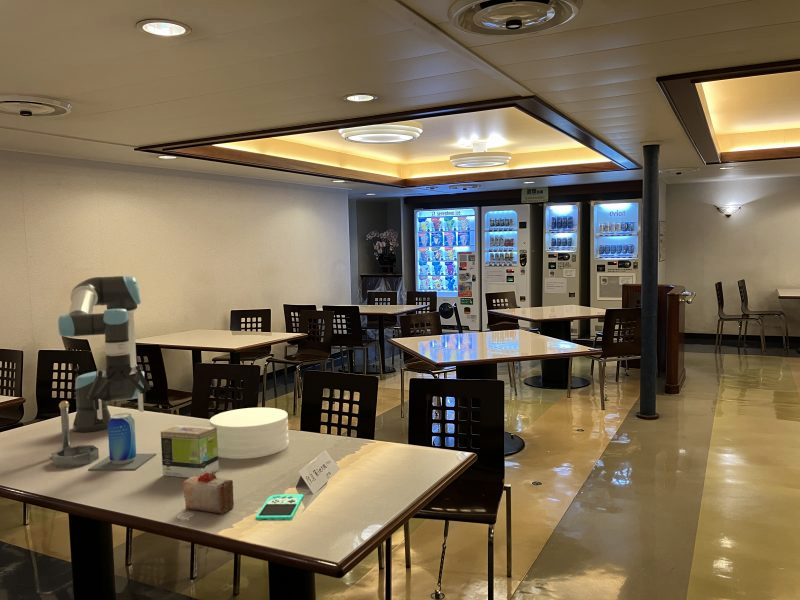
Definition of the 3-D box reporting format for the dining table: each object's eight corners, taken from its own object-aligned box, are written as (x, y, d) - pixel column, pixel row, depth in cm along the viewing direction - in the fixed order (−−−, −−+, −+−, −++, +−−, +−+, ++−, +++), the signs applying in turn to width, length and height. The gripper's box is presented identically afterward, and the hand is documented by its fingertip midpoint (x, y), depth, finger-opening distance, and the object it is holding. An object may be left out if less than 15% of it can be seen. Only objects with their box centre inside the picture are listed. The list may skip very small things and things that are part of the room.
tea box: (219, 470, 202) (217, 425, 202) (200, 480, 193) (198, 434, 192) (182, 465, 207) (180, 422, 206) (161, 476, 198) (159, 430, 197)
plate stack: (194, 454, 220) (193, 423, 219) (242, 433, 246) (241, 405, 245) (259, 462, 209) (258, 429, 209) (302, 439, 235) (301, 410, 235)
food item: (179, 510, 170) (177, 475, 169) (198, 500, 177) (196, 466, 176) (220, 516, 165) (219, 481, 164) (238, 505, 172) (236, 471, 172)
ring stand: (63, 451, 227) (60, 398, 226) (111, 450, 226) (108, 398, 225) (31, 467, 209) (28, 411, 208) (84, 467, 208) (80, 410, 207)
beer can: (141, 457, 216) (138, 412, 215) (128, 465, 208) (125, 418, 207) (118, 457, 217) (116, 412, 216) (104, 464, 208) (102, 418, 207)
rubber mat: (112, 455, 221) (112, 453, 221) (156, 454, 220) (156, 453, 220) (88, 470, 205) (88, 469, 205) (135, 470, 204) (135, 468, 204)
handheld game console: (304, 497, 178) (304, 493, 178) (292, 521, 162) (292, 516, 162) (270, 498, 178) (270, 493, 178) (255, 521, 162) (254, 516, 162)
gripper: (81, 359, 199) (85, 424, 200) (158, 350, 216) (161, 410, 217) (74, 357, 204) (78, 419, 206) (150, 348, 221) (153, 406, 223)
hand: (121, 415), depth 211 cm, fingers open, 13 cm apart
